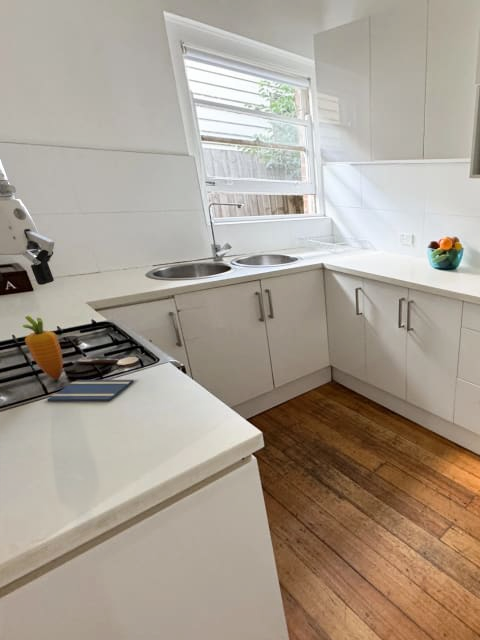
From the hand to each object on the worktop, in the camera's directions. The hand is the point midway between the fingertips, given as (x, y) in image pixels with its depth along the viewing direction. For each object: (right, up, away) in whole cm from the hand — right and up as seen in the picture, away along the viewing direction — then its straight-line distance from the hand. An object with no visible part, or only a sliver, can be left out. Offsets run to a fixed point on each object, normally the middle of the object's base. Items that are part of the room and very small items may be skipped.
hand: (20, 282), depth 76 cm
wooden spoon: (+4, -17, +17) cm, 24 cm away
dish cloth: (+10, -22, +5) cm, 25 cm away
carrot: (-1, -21, +9) cm, 22 cm away
